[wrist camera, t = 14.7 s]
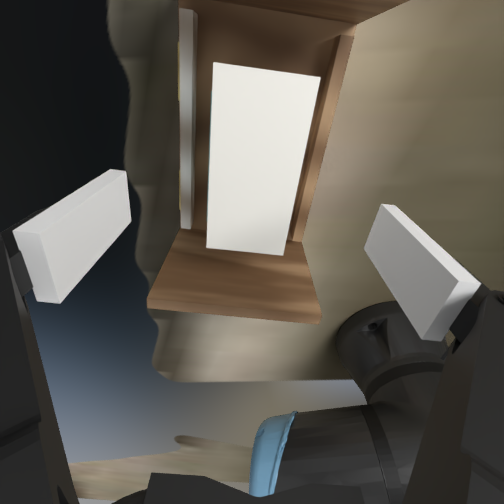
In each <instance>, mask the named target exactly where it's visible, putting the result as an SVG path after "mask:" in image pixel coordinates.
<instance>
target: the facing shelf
mask: <svg viewBox="0 0 504 504" xmlns="http://www.w3.org/2000/svg"><path fill="white" fill-rule="evenodd" d="M407 1H409V0H178V23H179V42H178V101H179V133H180V170H179V210H180V229H179V231H178V233H177V235H176V238H175V240H174V242H173V244H172V246H171V248H170V250H169V252H168V254H167V257H166V259H165V261H164V263H163V265H162V267H161V269H160V271H159V274H158V276H157V278H156V280H155V282H154V284H153V286H152V288H151V291H150V293H149V295H148V297H147V307H148V308H152V309H163V310H173V311H184V312H194V313H204V314H215V315H225V316H236V317H246V318H257V319H267V320H278V321H288V322H298V323H309V324H319V323H320V320H321V318H322V313H321V310H320V306H319V303H318V299H317V296H316V292H315V288H314V285H313V281H312V278H311V274H310V271H309V267H308V263H307V260H306V256H305V253H304V249H303V245H302V242H301V241H302V238H303V234H304V230H305V226H306V222H307V218H308V214H309V210H310V206H311V203H312V199H313V195H314V191H315V187H316V183H317V179H318V175H319V171H320V168H321V164H322V160H323V156H324V152H325V148H326V144H327V140H328V136H329V132H330V129H331V125H332V121H333V117H334V113H335V109H336V105H337V101H338V97H339V94H340V90H341V86H342V82H343V78H344V74H345V70H346V66H347V62H348V59H349V55H350V51H351V47H352V43H353V39H354V33H355V29H356V25H357V24H359V23H361V22H363V21H365V20H367V19H370V18H372V17H374V16H376V15H378V14H381V13H383V12H385V11H387V10H389V9H391V8H394V7H396V6H398V5H400V4H402V3H405V2H407ZM213 62H216V63H223V64H230V65H237V66H244V67H252V68H259V69H266V70H273V71H280V72H287V73H294V74H301V75H308V76H315V77H321V79H320V83H319V88H318V93H317V98H316V102H315V107H314V112H313V117H312V121H311V126H310V131H309V135H308V140H307V145H306V150H305V154H304V159H303V164H302V168H301V173H300V178H299V183H298V187H297V192H296V197H295V202H294V206H293V211H292V216H291V220H290V225H289V230H288V235H287V239H286V244H285V249H284V253H283V256H282V255H272V254H262V253H252V252H243V251H233V250H223V249H213V248H206V245H207V193H208V165H209V136H210V108H211V91H212V83H213Z"/></svg>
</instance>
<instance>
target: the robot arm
mask: <svg viewBox="0 0 504 504" xmlns="http://www.w3.org/2000/svg"><path fill="white" fill-rule="evenodd" d="M130 222H131V215H130V205H129V195H128V185H127V176H126V171H120V170H112V169H110V170H108V171H107V172H105V173H104V174H102V175H100V176H99V177H98V178H96V179H94V180H93V181H91V182H90V183H88V184H86V185H85V186H83V187H81V188H80V189H78V190H77V191H75V192H73V193H72V194H70V195H69V196H67V197H65V198H64V199H62V200H61V201H59V202H57V203H56V204H54V205H53V206H51V207H47V208H44V209H42V210H38V211H36V212H34V213H33V214H31V215H29V216H28V217H27V218H24V219H23V220H21V221H20V222H19V223H16V224H15V225H13V226H11V227H10V228H8V229H6V230H5V231H3V232H1V233H0V504H79V501H78V498H77V495H76V492H75V489H74V486H73V482H72V478H71V474H70V470H69V466H68V462H67V458H66V454H65V451H64V447H63V443H62V439H61V435H60V431H59V427H58V423H57V419H56V415H55V412H54V408H53V403H52V399H51V395H50V391H49V388H48V383H47V380H46V376H45V372H44V368H43V364H42V360H41V356H40V352H39V348H38V344H37V340H36V336H35V333H34V329H33V324H32V320H31V316H30V313H29V309H28V305H27V302H26V299H25V297H24V295H25V294H26V293H27V292H29V291H30V289H32V288H33V290H34V293H35V296H36V299H37V301H40V302H50V303H61V302H62V301H63V300H64V298H65V297H66V296H67V295H68V293H70V291H71V290H72V289H73V288H74V287H75V286H76V284H77V283H78V282H79V281H80V280H81V279H82V278H83V276H84V275H85V274H86V273H87V272H88V271H89V270H90V268H91V267H92V266H93V265H94V264H95V263H96V261H97V260H98V259H99V258H100V257H101V256H102V254H103V253H104V252H105V251H106V250H107V249H108V248H109V246H110V245H111V244H112V243H113V242H114V241H115V240H116V238H117V237H118V236H119V235H120V234H121V232H122V231H123V230H124V229H125V228H126V227H127V226H128V224H129V223H130ZM364 250H365V251H366V253H367V255H368V256H369V258H370V259H371V261H372V262H373V264H374V266H375V267H376V269H377V270H378V272H379V273H380V275H381V277H382V278H383V280H384V281H385V283H386V284H387V286H388V288H389V289H390V291H391V292H392V294H393V295H394V297H395V299H396V300H397V301H393V302H385V303H380V304H376V305H373V306H370V307H368V308H365V309H363V310H361V311H360V312H358V313H356V314H355V315H353V316H352V317H351V318H349V319H348V320H347V321H346V322H345V323H344V324H343V326H342V327H341V328H340V330H339V332H338V334H337V337H336V348H337V352H338V355H339V358H340V361H341V363H342V365H343V366H344V368H345V369H346V370H347V371H348V372H349V374H350V375H351V377H352V378H353V380H354V381H355V383H356V384H357V385H358V387H359V388H360V389H361V391H362V392H363V394H364V396H365V399H366V401H367V404H368V405H360V406H350V407H342V408H334V409H325V410H317V411H309V412H300V413H298V412H297V411H293V412H292V413H291V414H286V415H280V416H274V417H270V418H268V419H266V420H265V421H263V423H262V424H261V425H260V427H259V429H258V431H257V434H256V437H255V441H254V446H253V451H252V458H251V467H250V480H249V494H247V493H245V492H242V491H240V490H237V489H235V488H232V487H230V486H227V485H225V484H223V483H220V482H218V481H215V480H213V479H210V478H208V477H205V476H195V475H180V474H165V473H151V476H150V480H149V484H148V488H147V489H145V490H142V491H138V492H136V493H133V494H131V495H128V496H126V497H123V498H121V499H120V500H118V501H116V502H114V503H112V504H504V292H502V291H496V290H494V291H491V290H489V289H488V288H487V287H486V286H485V285H484V284H483V283H482V282H481V281H479V280H478V279H477V278H476V277H475V276H474V275H473V274H471V272H470V271H468V270H467V269H466V268H464V266H463V265H462V264H461V263H460V262H458V261H457V260H456V259H455V258H453V257H451V256H450V255H449V254H448V253H447V252H446V251H445V250H444V249H442V248H441V247H440V246H439V245H438V244H437V243H436V242H435V241H434V240H433V239H431V238H430V237H429V236H428V235H427V234H426V233H425V232H424V231H423V230H422V229H420V228H419V227H418V226H417V225H416V224H415V223H414V222H413V221H412V220H411V219H409V218H408V217H407V216H406V215H405V214H404V213H403V212H402V211H401V210H400V209H398V208H397V207H396V206H395V205H387V204H381V206H380V208H379V211H378V213H377V216H376V218H375V221H374V223H373V226H372V229H371V231H370V234H369V236H368V239H367V241H366V244H365V247H364ZM449 329H450V331H451V332H452V333H453V334H454V336H455V337H456V338H455V339H454V341H453V342H452V343H451V345H450V346H449V347H448V346H447V343H446V338H445V335H446V334H447V332H448V331H449Z"/></svg>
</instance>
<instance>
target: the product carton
mask: <svg viewBox="0 0 504 504" xmlns="http://www.w3.org/2000/svg"><path fill="white" fill-rule="evenodd" d="M320 79H321V77H315V76H308V75H301V74H294V73H287V72H280V71H273V70H266V69H259V68H252V67H244V66H237V65H230V64H223V63H216V62H213V83H212V91H211V108H210V136H209V165H208V193H207V245H206V248H213V249H223V250H233V251H243V252H252V253H262V254H272V255H282V256H283V253H284V249H285V244H286V239H287V235H288V230H289V225H290V220H291V216H292V211H293V206H294V202H295V197H296V192H297V187H298V183H299V178H300V173H301V168H302V164H303V159H304V154H305V150H306V145H307V140H308V135H309V131H310V126H311V121H312V117H313V112H314V107H315V102H316V98H317V93H318V88H319V83H320Z"/></svg>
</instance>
